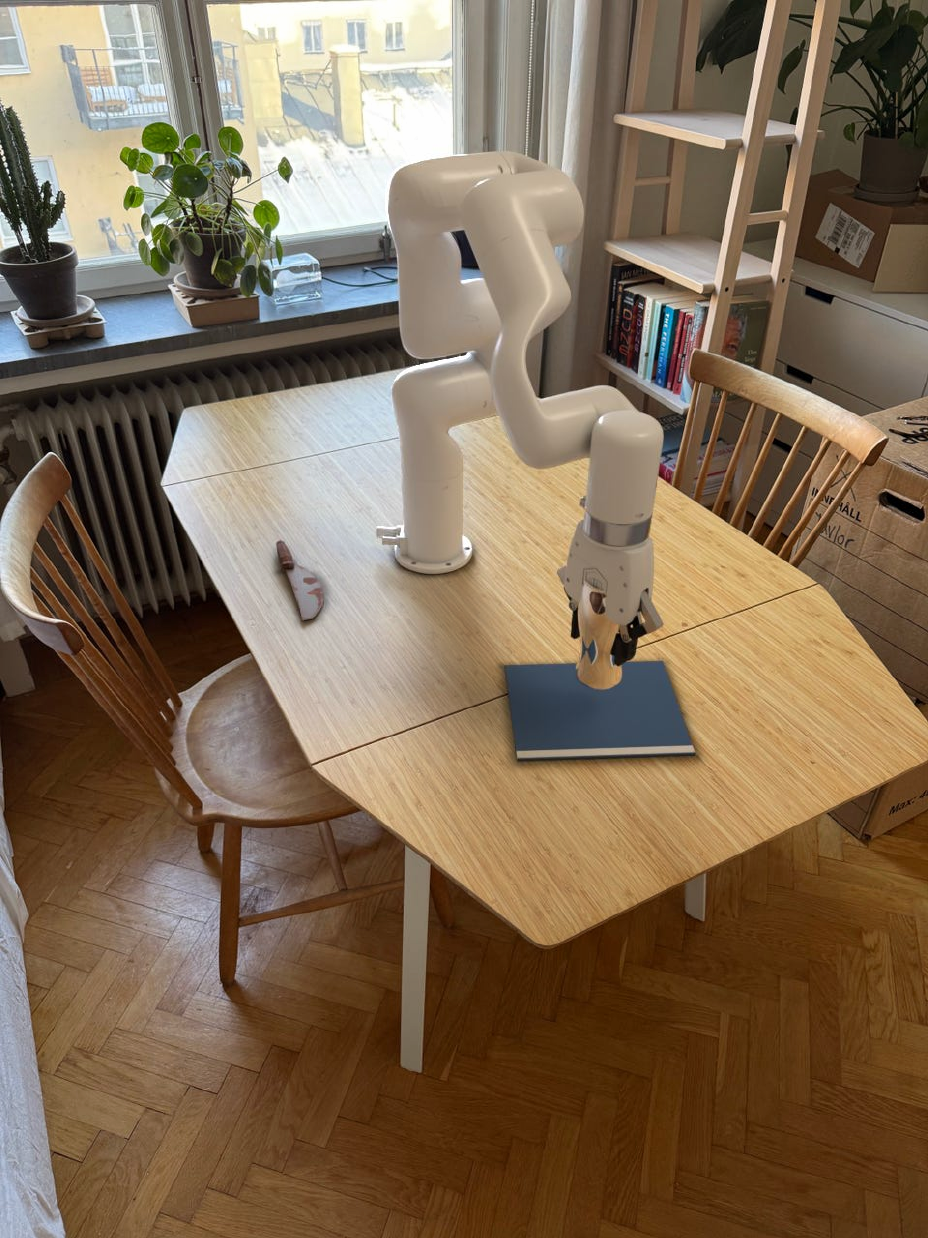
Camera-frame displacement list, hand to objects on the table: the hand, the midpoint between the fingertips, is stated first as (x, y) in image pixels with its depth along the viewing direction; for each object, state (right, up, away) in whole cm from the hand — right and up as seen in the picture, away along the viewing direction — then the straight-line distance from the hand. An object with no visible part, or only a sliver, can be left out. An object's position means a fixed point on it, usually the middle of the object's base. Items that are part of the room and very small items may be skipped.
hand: (602, 646), depth 114 cm
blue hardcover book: (0, -8, +6) cm, 10 cm away
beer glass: (0, -4, +3) cm, 5 cm away
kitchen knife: (-42, +9, +29) cm, 52 cm away
